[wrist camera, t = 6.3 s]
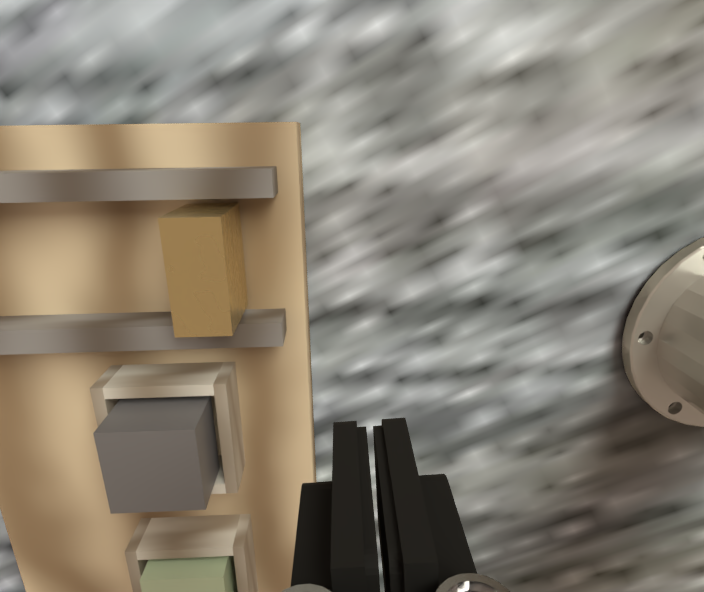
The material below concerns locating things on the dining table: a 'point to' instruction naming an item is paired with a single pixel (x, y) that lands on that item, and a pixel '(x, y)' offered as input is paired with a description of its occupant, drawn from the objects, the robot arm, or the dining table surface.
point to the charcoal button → (158, 454)
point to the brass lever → (204, 268)
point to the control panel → (148, 346)
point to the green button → (190, 575)
